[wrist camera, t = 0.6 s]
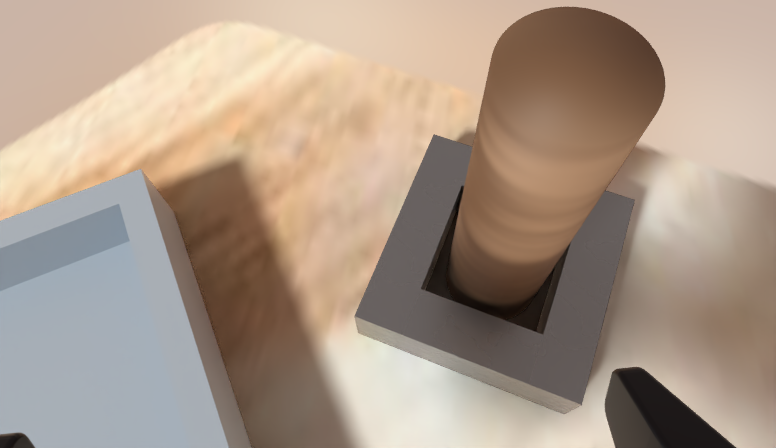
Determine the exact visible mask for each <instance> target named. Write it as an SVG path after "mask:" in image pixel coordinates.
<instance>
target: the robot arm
mask: <svg viewBox="0 0 776 448" xmlns="http://www.w3.org/2000/svg"><path fill="white" fill-rule="evenodd" d="M605 413H606V417H607V421H608V424H609V428H610V431H611V434H612V438H613V441H614V444H615V448H736V447H735V446H734V445H732V444H731V443H730V442H729V441H728V440H727V439H725V438H724V437H723V436H722V435H721V434H720V433H718V432H717V431H716V430H715V429H714V428H712V427H711V426H710V425H709V424H708V423H707V422H705V421H704V420H703V419H702V418H701V417H700V416H698V415H697V414H696V413H695V412H694V411H693V410H691V409H690V408H689V407H688V406H687V405H685V404H684V403H683V402H682V401H681V400H680V399H678V398H677V397H676V396H675V395H674V394H673V393H671V392H670V391H669V390H668V389H667V388H666V387H664V386H663V385H662V384H661V383H660V382H658V381H657V380H656V379H655V378H654V377H653V376H651V375H650V374H649V373H648V372H647V371H645V370H644V369H642V368H639V367H630V368H621V369H616V370H615V371H614V372H613V373H612V375H611V379H610V383H609V387H608V391H607V395H606V399H605ZM0 448H35V446H34V445H33V444H32V442H31V441H30V439H29V438H28V437H27V436H26V435H25V434H23V433H20V432H17V433H8V434H0Z"/></svg>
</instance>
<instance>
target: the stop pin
mask: <svg viewBox="0 0 776 448" xmlns="http://www.w3.org/2000/svg"><path fill="white" fill-rule="evenodd" d="M664 91H665V77H664V71H663V67H662V65H661V62H660V60H659V57H658V56H657V54H656V52H655V50H654V49H653V48H652V46H651V45H650V43H649V42H648V41H647V40H646V39H645V38H644V37H643V36H642V35H641V34H640V33H639V32H637V31H636V30H635V29H634V28H632V27H631V26H629V25H628V24H626V23H625V22H623V21H621V20H619V19H617V18H615V17H613V16H611V15H608V14H606V13H602V12H599V11H596V10H591V9H586V8H579V7H556V8H549V9H544V10H540V11H537V12H534V13H531V14H529V15H527V16H525V17H523V18H521V19H519V20H518V21H516V22H515V23H514V24H512V25H511V26H510V27H509V28H508V29H507V30H506V31H505V32H504V33H503V34H502V36H501V37H500V38H499V40H498V42H497V44H496V46H495V48H494V51H493V54H492V58H491V62H490V67H489V72H488V77H487V81H486V87H485V91H484V95H483V100H482V105H481V110H480V114H479V119H478V124H477V128H476V133H475V138H474V142H473V147H472V152H471V157H470V161H469V166H468V171H467V175H466V180H465V185H464V190H463V194H462V199H461V204H460V208H459V213H458V218H457V223H456V227H455V232H454V237H453V241H452V246H451V251H450V256H449V260H448V265H447V271H446V280H447V285H448V289H449V291H450V294H451V296H452V297H453V299H454V301H455V302H457V303H460V304H462V305H465V306H468V307H471V308H473V309H476V310H479V311H481V312H484V313H487V314H489V315H492V316H495V317H497V318H500V319H503V320H506V319H509V318H512V317H514V316H516V315H518V314H519V313H521V312H522V311H523V310H524V309H525V308H527V306H528V305H529V304H530V302H531V301H532V300H533V298H534V297H535V295H536V294H537V292H538V290H539V289H540V287H541V286H542V284H543V283H544V281H545V280H546V278H547V277H548V275H549V274H550V272H551V271H552V269H553V268H554V266H555V265H556V263H557V262H558V260H559V259H560V257H561V256H562V254H563V253H564V251H565V250H566V248H567V247H568V245H569V244H570V242H571V241H572V239H573V238H574V236H575V235H576V233H577V232H578V230H579V229H580V227H581V226H582V224H583V223H584V221H585V220H586V218H587V217H588V215H589V214H590V212H591V211H592V209H593V208H594V206H595V205H596V203H597V202H598V200H599V199H600V197H601V196H602V194H603V193H604V191H605V190H606V188H607V187H608V185H609V184H610V182H611V181H612V179H613V178H614V176H615V175H616V173H617V172H618V170H619V169H620V167H621V166H622V164H623V163H624V161H625V160H626V158H627V157H628V155H629V154H630V152H631V151H632V149H633V148H634V146H635V145H636V143H637V142H638V140H639V139H640V137H641V136H642V134H643V133H644V131H645V130H646V128H647V127H648V125H649V124H650V122H651V121H652V119H653V118H654V116H655V115H656V113H657V111H658V110H659V108H660V106H661V103H662V100H663V97H664Z"/></svg>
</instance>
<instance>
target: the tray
mask: <svg viewBox="0 0 776 448" xmlns="http://www.w3.org/2000/svg"><path fill="white" fill-rule="evenodd" d="M17 432H20V433H23V434H25V435H26V436H27V437H28V438H29V439H30V441H31V442H32V444H33V445H34V446H35V448H252V446H251V443H250V440H249V437H248V434H247V431H246V428H245V425H244V422H243V419H242V416H241V413H240V410H239V407H238V404H237V401H236V398H235V395H234V392H233V389H232V386H231V383H230V380H229V377H228V374H227V371H226V368H225V365H224V362H223V359H222V356H221V353H220V350H219V347H218V344H217V341H216V338H215V335H214V332H213V329H212V326H211V323H210V320H209V317H208V313H207V310H206V307H205V304H204V301H203V298H202V295H201V292H200V289H199V286H198V283H197V280H196V277H195V274H194V271H193V268H192V265H191V262H190V259H189V256H188V253H187V250H186V247H185V244H184V241H183V238H182V235H181V232H180V229H179V226H178V223H177V220H176V217H175V214H174V211H173V210H172V209H171V207H170V206H169V205H168V204H167V202H166V201H165V200H164V198H163V197H162V196H161V194H160V193H159V192H158V190H157V189H156V188H155V187H154V185H153V184H152V183H151V181H150V180H149V179H148V177H147V176H146V175H145V174H144V172H143V171H142V170H141V169H139V170H137V171H134V172H131V173H128V174H126V175H123V176H120V177H118V178H115V179H112V180H109V181H107V182H104V183H101V184H99V185H96V186H93V187H91V188H88V189H85V190H82V191H80V192H77V193H74V194H72V195H69V196H66V197H64V198H61V199H58V200H55V201H53V202H50V203H47V204H45V205H42V206H39V207H36V208H34V209H31V210H28V211H26V212H23V213H20V214H18V215H15V216H12V217H9V218H7V219H4V220H1V221H0V434H8V433H17Z"/></svg>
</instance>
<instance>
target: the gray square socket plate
mask: <svg viewBox="0 0 776 448" xmlns="http://www.w3.org/2000/svg"><path fill="white" fill-rule="evenodd" d="M471 152H472V147H471V146H468V145H465V144H462V143H459V142H456V141H453V140H450V139H446V138H443V137H440V136H437V135H433V137H432V140H431V142H430V144H429V147H428V149H427V151H426V153H425V156H424V158H423V160H422V163H421V165H420V167H419V170H418V172H417V174H416V176H415V179H414V181H413V183H412V186H411V188H410V190H409V192H408V195H407V197H406V199H405V202H404V204H403V206H402V209H401V211H400V213H399V215H398V218H397V220H396V222H395V225H394V227H393V229H392V231H391V234H390V236H389V238H388V241H387V243H386V245H385V248H384V250H383V252H382V254H381V257H380V259H379V261H378V264H377V266H376V268H375V270H374V273H373V275H372V277H371V280H370V282H369V284H368V287H367V289H366V291H365V293H364V296H363V298H362V300H361V303H360V305H359V307H358V309H357V312H356V314H355V321H356V325H357V330H358V333H360V334H362V335H365V336H368V337H370V338H373V339H375V340H378V341H380V342H383V343H385V344H388V345H390V346H393V347H395V348H398V349H400V350H403V351H406V352H408V353H411V354H413V355H416V356H418V357H421V358H423V359H426V360H428V361H431V362H433V363H436V364H439V365H441V366H444V367H446V368H449V369H451V370H454V371H456V372H459V373H461V374H464V375H466V376H469V377H471V378H474V379H477V380H479V381H482V382H484V383H487V384H489V385H492V386H494V387H497V388H499V389H502V390H504V391H507V392H509V393H512V394H515V395H517V396H520V397H522V398H525V399H527V400H530V401H532V402H535V403H537V404H540V405H542V406H545V407H547V408H550V409H553V410H555V411H558V412H560V413H563V414H566V413H567V412H569V411H571V410H573V409H575V408H577V407H579V406H581V405H582V402H583V398H584V394H585V390H586V386H587V382H588V378H589V375H590V371H591V367H592V363H593V359H594V355H595V351H596V347H597V344H598V340H599V336H600V332H601V328H602V324H603V320H604V317H605V313H606V309H607V305H608V301H609V297H610V293H611V289H612V286H613V282H614V278H615V274H616V270H617V266H618V262H619V259H620V255H621V251H622V247H623V243H624V239H625V235H626V232H627V228H628V224H629V220H630V216H631V212H632V208H633V204H634V201H635V200H633V199H630V198H627V197H624V196H621V195H618V194H615V193H612V192H609V191H606V190H605V191H604V193H603V194H602V196H601V197H600V199H599V200H598V202H597V203H596V205H595V206H594V208H593V209H592V211H591V212H590V214H589V215H588V217H587V218H586V220H585V221H584V223H583V224H582V226H581V227H580V229H579V230H578V232H577V233H576V235H575V236H574V238H573V239H572V241H571V242H570V244H569V245H568V247H567V248H566V250H565V251H564V253H563V254H562V256H561V257H560V259H559V260H558V262H557V263H556V266H555V270H554V273H553V276H552V280H551V283H550V286H549V289H548V293H547V296H546V299H545V303H544V306H543V309H542V312H541V316H540V319H539V322H538V326H537V329H536V332H535V331H532V330H529V329H527V328H524V327H521V326H519V325H516V324H513V323H511V322H508V321H505V320H503V319H500V318H497V317H495V316H492V315H489V314H487V313H484V312H481V311H479V310H476V309H473V308H471V307H468V306H465V305H462V304H460V303H457V302H454V301H452V300H449V299H446V298H444V297H441V296H438V295H436V294H433V293H430V292H428V291H425V290H426V288H427V285H428V282H429V280H430V277H431V275H432V272H433V270H434V267H435V265H436V262H437V260H438V257H439V254H440V252H441V249H442V247H443V244H444V242H445V239H446V237H447V234H448V232H449V229H450V226H451V224H452V221H453V219H454V216H455V214H456V211H458V212H459V208H460V204H461V199H462V194H463V190H464V185H465V180H466V175H467V171H468V166H469V161H470V157H471Z"/></svg>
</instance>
